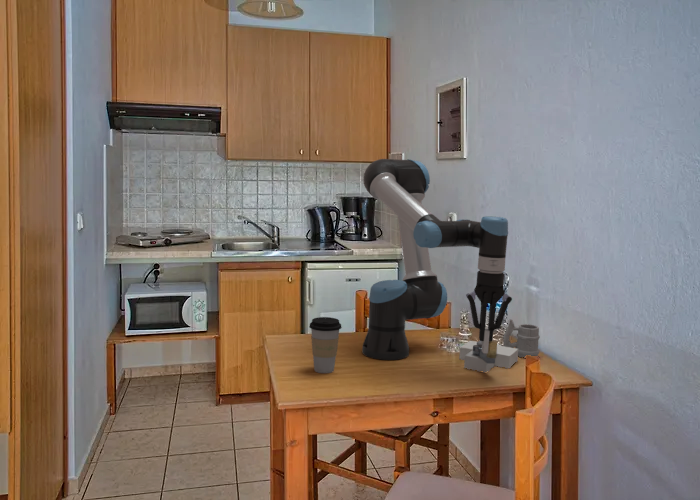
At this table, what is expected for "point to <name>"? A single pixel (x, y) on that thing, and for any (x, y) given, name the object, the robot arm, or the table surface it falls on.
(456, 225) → the robot arm
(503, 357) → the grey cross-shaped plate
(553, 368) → the table surface
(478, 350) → the latch arm
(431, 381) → the table surface
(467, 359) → the block
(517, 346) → the mug
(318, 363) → the coffee cup
